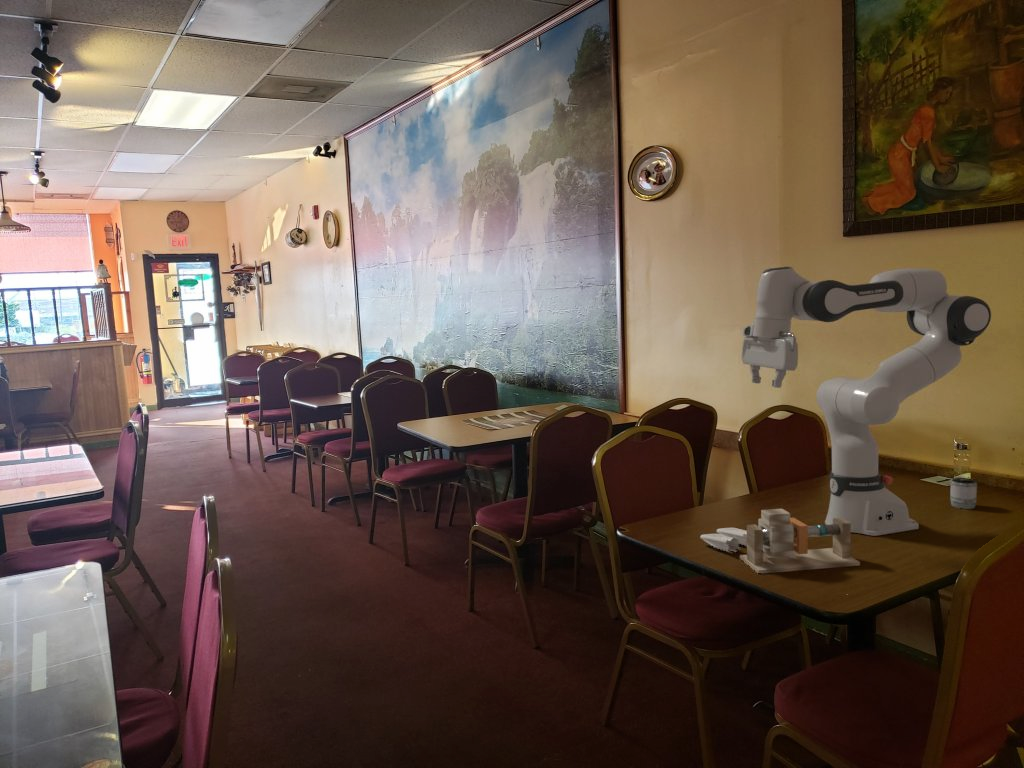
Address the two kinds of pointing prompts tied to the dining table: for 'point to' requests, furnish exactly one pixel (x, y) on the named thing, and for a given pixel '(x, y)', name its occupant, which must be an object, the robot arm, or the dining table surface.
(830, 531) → the pipe
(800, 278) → the robot arm
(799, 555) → the stand
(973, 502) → the grey cylinder
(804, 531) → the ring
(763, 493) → the dining table surface
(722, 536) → the pair of white wedges
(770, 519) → the sleeve
